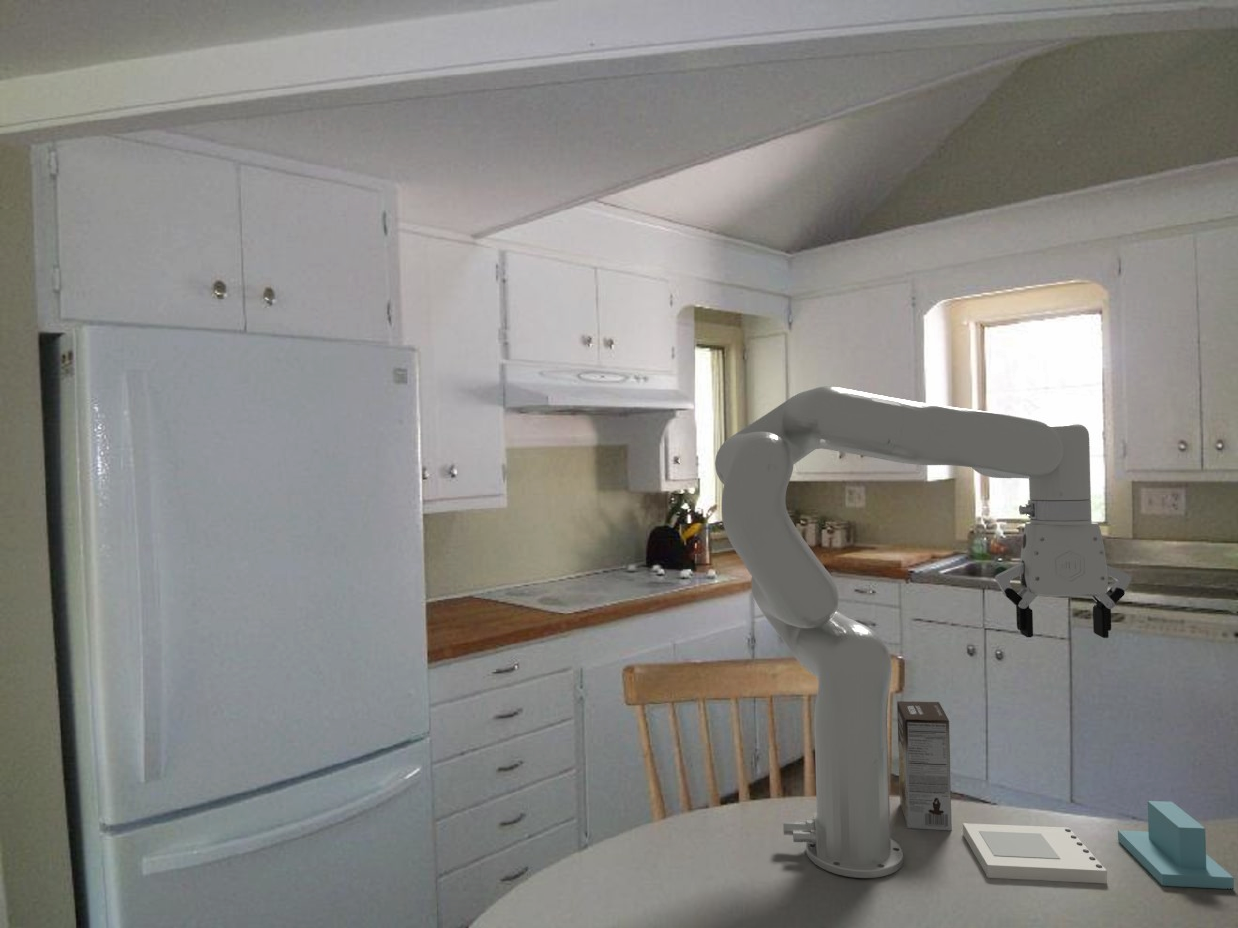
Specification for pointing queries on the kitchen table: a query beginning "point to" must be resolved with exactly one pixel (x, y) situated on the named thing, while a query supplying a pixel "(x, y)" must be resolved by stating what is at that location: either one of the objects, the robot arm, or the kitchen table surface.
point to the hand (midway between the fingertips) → (1063, 635)
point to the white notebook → (1033, 853)
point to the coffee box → (924, 765)
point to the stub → (1175, 849)
